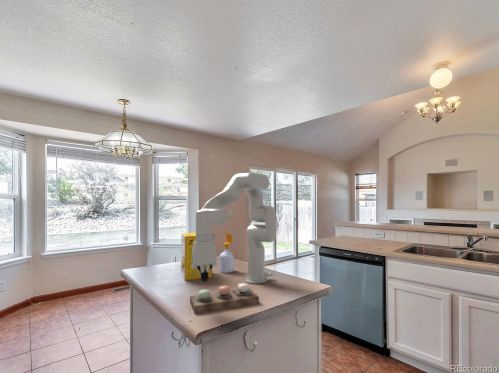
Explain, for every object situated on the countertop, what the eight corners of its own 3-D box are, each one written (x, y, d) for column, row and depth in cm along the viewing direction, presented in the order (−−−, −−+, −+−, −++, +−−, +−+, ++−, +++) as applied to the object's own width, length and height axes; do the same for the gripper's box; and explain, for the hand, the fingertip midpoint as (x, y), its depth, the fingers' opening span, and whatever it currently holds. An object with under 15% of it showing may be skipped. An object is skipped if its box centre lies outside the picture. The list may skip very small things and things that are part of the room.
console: (248, 294, 125) (248, 286, 125) (258, 303, 113) (258, 295, 114) (190, 302, 114) (190, 294, 115) (194, 313, 103) (194, 304, 103)
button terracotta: (227, 290, 117) (227, 285, 117) (231, 293, 113) (231, 288, 113) (217, 291, 116) (217, 286, 116) (220, 295, 111) (220, 289, 111)
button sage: (208, 294, 114) (208, 288, 114) (210, 298, 110) (210, 292, 110) (197, 295, 112) (197, 290, 112) (199, 299, 108) (199, 293, 108)
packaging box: (180, 273, 163) (181, 233, 164) (206, 270, 169) (206, 232, 170) (184, 280, 148) (184, 236, 149) (212, 277, 153) (212, 235, 155)
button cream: (246, 287, 121) (246, 282, 121) (250, 291, 116) (250, 285, 116) (236, 289, 119) (236, 283, 119) (240, 292, 114) (240, 287, 115)
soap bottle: (216, 271, 166) (216, 233, 167) (225, 268, 173) (225, 231, 175) (227, 273, 161) (227, 234, 162) (236, 270, 168) (236, 232, 170)
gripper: (218, 236, 119) (219, 276, 118) (185, 238, 113) (185, 280, 112) (223, 238, 112) (223, 281, 111) (188, 240, 106) (188, 286, 105)
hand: (204, 280), depth 111 cm, fingers closed
